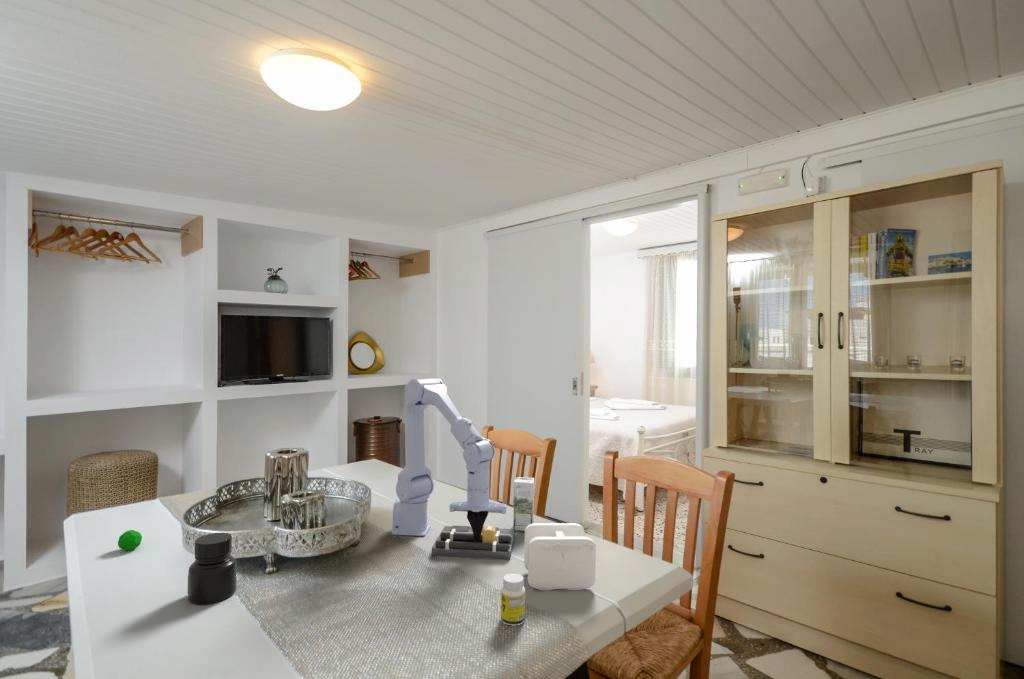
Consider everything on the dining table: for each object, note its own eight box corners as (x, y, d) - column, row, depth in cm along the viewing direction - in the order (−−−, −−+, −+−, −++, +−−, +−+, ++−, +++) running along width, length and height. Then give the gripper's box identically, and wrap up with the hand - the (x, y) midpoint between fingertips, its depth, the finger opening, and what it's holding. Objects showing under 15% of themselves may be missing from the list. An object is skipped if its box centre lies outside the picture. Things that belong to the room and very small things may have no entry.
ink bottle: (227, 581, 117) (228, 527, 117) (245, 593, 112) (246, 537, 112) (178, 596, 110) (179, 539, 110) (195, 611, 104) (196, 550, 104)
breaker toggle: (482, 546, 134) (482, 529, 134) (484, 541, 137) (484, 525, 137) (494, 546, 133) (494, 530, 133) (495, 542, 136) (495, 526, 136)
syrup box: (533, 525, 156) (534, 476, 156) (532, 532, 150) (533, 482, 150) (514, 524, 156) (515, 476, 156) (512, 531, 151) (513, 481, 151)
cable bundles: (435, 548, 132) (435, 541, 132) (443, 535, 142) (443, 528, 142) (509, 552, 130) (509, 545, 130) (512, 538, 140) (512, 531, 140)
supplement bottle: (500, 614, 104) (500, 572, 105) (523, 613, 105) (524, 572, 105) (501, 627, 100) (502, 583, 100) (526, 627, 100) (526, 582, 100)
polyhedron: (113, 551, 132) (114, 532, 133) (135, 544, 137) (135, 526, 137) (124, 555, 130) (124, 535, 130) (145, 548, 134) (146, 529, 135)
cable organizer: (586, 571, 125) (587, 522, 125) (595, 592, 115) (596, 539, 115) (523, 571, 124) (524, 522, 124) (527, 593, 114) (528, 539, 114)
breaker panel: (431, 555, 133) (431, 544, 133) (444, 533, 149) (445, 523, 149) (510, 559, 131) (510, 548, 131) (515, 536, 147) (515, 526, 147)
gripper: (447, 490, 132) (446, 544, 132) (504, 492, 131) (503, 547, 131) (453, 483, 139) (452, 534, 139) (507, 485, 138) (506, 536, 138)
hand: (477, 540), depth 135 cm, fingers closed
